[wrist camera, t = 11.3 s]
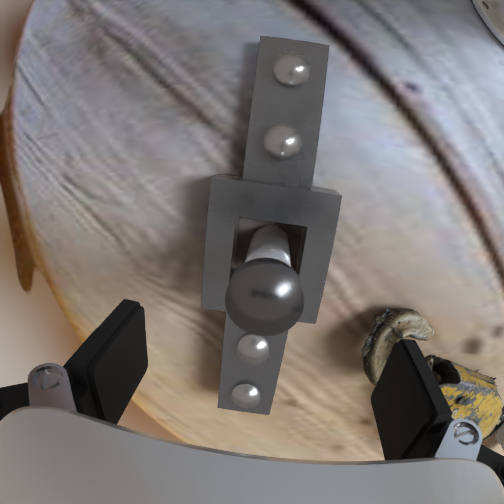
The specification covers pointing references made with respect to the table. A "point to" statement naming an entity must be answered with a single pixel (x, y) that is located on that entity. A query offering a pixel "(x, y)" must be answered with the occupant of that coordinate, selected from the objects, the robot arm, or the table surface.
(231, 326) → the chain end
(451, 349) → the table surface
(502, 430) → the grey black mug
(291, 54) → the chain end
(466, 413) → the pulley block
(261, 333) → the steel pin
